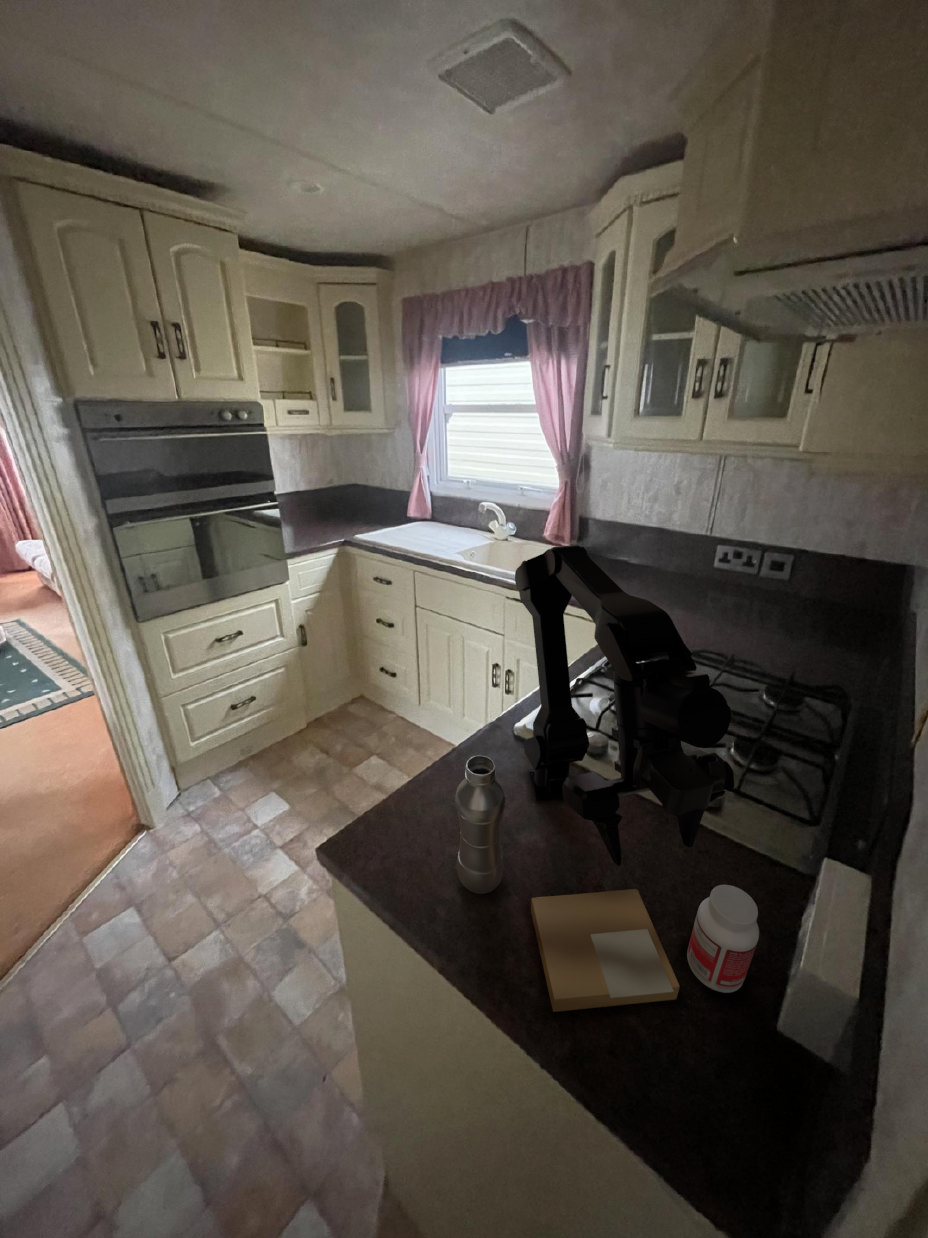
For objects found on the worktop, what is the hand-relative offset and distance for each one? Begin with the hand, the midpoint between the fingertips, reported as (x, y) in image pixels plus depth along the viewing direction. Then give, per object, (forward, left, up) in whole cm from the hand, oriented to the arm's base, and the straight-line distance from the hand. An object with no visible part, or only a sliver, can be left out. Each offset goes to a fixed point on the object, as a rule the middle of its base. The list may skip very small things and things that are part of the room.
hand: (653, 854), depth 59 cm
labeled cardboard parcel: (+2, -6, -13) cm, 15 cm away
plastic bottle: (-9, -19, -14) cm, 25 cm away
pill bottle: (+5, +7, -14) cm, 16 cm away
